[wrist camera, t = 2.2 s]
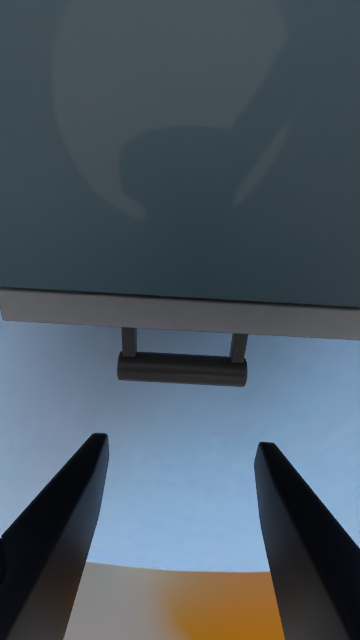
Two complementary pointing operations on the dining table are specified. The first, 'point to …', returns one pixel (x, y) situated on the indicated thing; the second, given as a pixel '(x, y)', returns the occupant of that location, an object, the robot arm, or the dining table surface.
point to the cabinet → (182, 148)
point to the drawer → (180, 327)
